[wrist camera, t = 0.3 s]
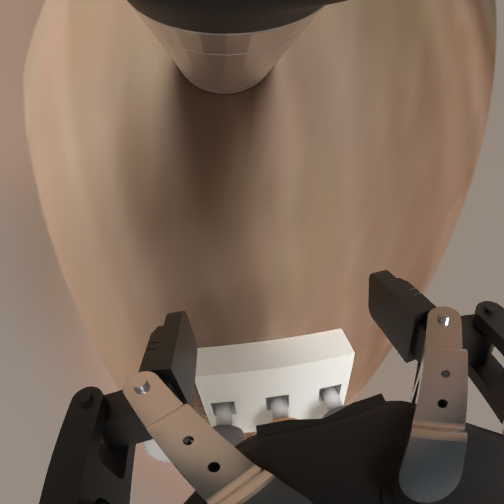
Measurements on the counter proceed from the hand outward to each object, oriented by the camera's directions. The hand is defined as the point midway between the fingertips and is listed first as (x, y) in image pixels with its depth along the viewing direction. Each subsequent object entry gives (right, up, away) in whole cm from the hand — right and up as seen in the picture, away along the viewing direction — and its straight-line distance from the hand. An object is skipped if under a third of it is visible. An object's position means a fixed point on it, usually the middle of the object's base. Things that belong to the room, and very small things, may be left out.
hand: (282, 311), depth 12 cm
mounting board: (+2, -15, +26) cm, 30 cm away
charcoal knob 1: (-5, -17, +23) cm, 29 cm away
